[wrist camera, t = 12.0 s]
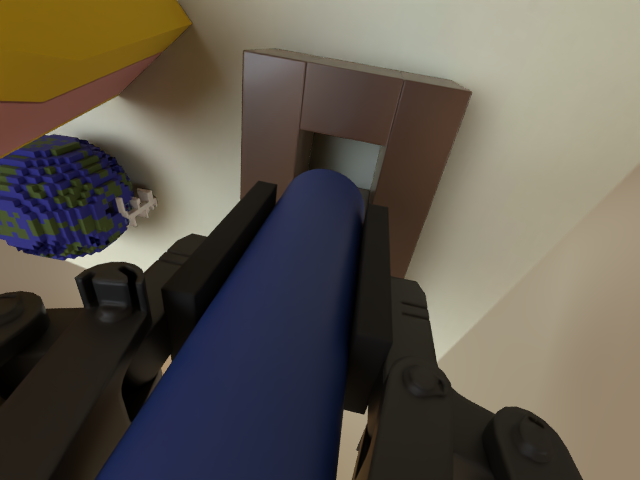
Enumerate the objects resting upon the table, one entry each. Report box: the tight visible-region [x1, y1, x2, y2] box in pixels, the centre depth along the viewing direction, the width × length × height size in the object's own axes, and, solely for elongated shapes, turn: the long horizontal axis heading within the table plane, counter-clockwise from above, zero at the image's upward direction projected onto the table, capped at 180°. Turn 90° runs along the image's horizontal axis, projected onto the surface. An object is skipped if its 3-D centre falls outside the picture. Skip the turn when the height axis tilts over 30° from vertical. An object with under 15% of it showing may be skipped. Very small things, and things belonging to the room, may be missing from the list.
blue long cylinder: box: [94, 169, 364, 480], centre depth 9 cm, size 4×4×12 cm
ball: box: [0, 134, 158, 260], centre depth 22 cm, size 8×8×8 cm
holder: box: [240, 48, 472, 279], centre depth 21 cm, size 10×18×5 cm, turn 171°
